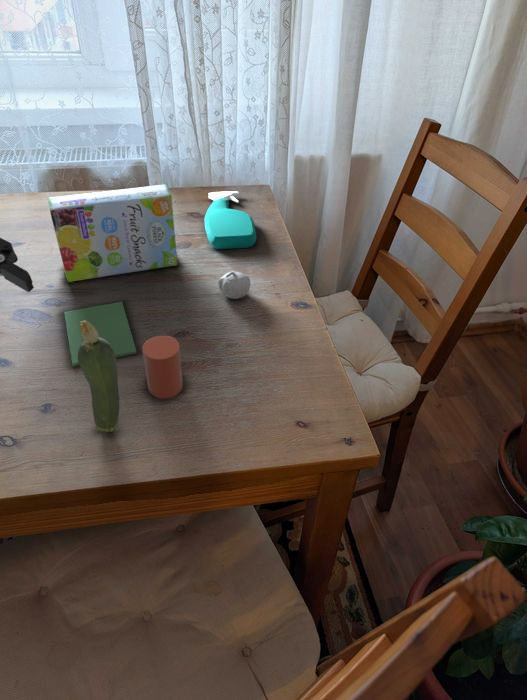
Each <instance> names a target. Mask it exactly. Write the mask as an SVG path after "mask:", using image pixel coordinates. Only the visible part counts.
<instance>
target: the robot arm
mask: <svg viewBox="0 0 527 700" xmlns="http://www.w3.org/2000/svg"><path fill="white" fill-rule="evenodd" d="M18 260H19V258H18V255H17V254H16V252H15V249H14V247H13V244H12V243H11V242H10V241H8V240H6V239H4V238H2V237H0V277H3V278H4V280H6V281H8V282H10V283H11V284H13V285H15V286H17V287H18V288H20V289H22V290H24V291H25V292H27V293H30V292H31V291H33V289H35V286H34V285H33V281H34V280H32V277H31V275H30V273H29V272H28V271H27V270H26V269H24V268H22V267H20V266H19V265H17V264H16V263H17V262H18Z"/></svg>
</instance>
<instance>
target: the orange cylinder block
mask: <svg viewBox="0 0 527 700" xmlns="http://www.w3.org/2000/svg"><path fill="white" fill-rule="evenodd" d="M141 348H142V355H143V356H142V357H143V362H144V369H145V376H146V384H147V389H148V390H147V391H148V392H149V394H150V395H152V396H153V397H155V398H158V399H170V398H173V397H175V396H177V395H179V393H180V392H181V391H182V390H183V388H184V387H183V384H184V383H183V370H182V360H181V350H180V343H179V341H178V340H177V339H176V338H175V337H172V336H170V335H163V334H162V335H155V336H153V337H150V338H148V339H147V340H146V341H145V342H144V343H143V345H142V347H141Z"/></svg>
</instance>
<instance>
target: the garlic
mask: <svg viewBox="0 0 527 700" xmlns="http://www.w3.org/2000/svg"><path fill="white" fill-rule="evenodd" d="M217 285H218V289H219V291H220V293H222V294H223V295H224V297H227V298H229V299H233V300H238V299H243V298H244V297H245V296H247V295H248V293H249V291H250V288H251V285H252V284H251V279H250V277H249V276H248V275H246V274H245V273H243V272H241V271H237V270H232V271H229V272H227V273H224V275H223V276H221V277H220V278H219V279H218V282H217Z"/></svg>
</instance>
